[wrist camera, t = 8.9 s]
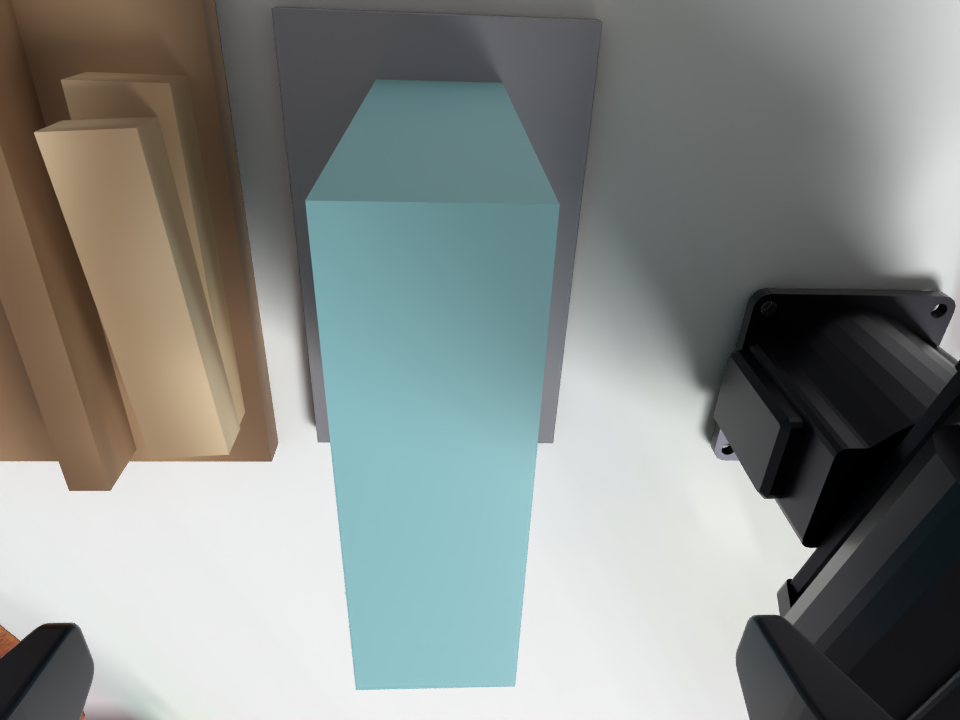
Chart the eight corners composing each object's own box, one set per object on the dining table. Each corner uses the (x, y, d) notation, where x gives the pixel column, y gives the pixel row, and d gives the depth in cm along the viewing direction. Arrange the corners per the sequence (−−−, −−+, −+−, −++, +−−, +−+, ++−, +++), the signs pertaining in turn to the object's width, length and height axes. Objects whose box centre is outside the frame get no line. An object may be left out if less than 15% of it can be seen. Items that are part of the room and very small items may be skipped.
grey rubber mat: (597, 19, 17) (601, 21, 17) (550, 432, 24) (553, 443, 23) (277, 7, 17) (272, 8, 16) (320, 431, 23) (317, 442, 23)
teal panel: (502, 82, 17) (559, 205, 9) (487, 406, 22) (514, 686, 14) (376, 79, 17) (305, 200, 8) (390, 405, 22) (356, 689, 13)
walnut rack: (211, -19, 16) (167, -15, 14) (278, 442, 23) (257, 502, 21) (-318, -41, 16) (-469, -41, 13) (-84, 442, 23) (-151, 503, 20)
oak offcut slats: (196, 75, 16) (158, 92, 14) (252, 412, 21) (230, 462, 19) (77, 71, 16) (21, 88, 14) (161, 412, 21) (129, 462, 19)
